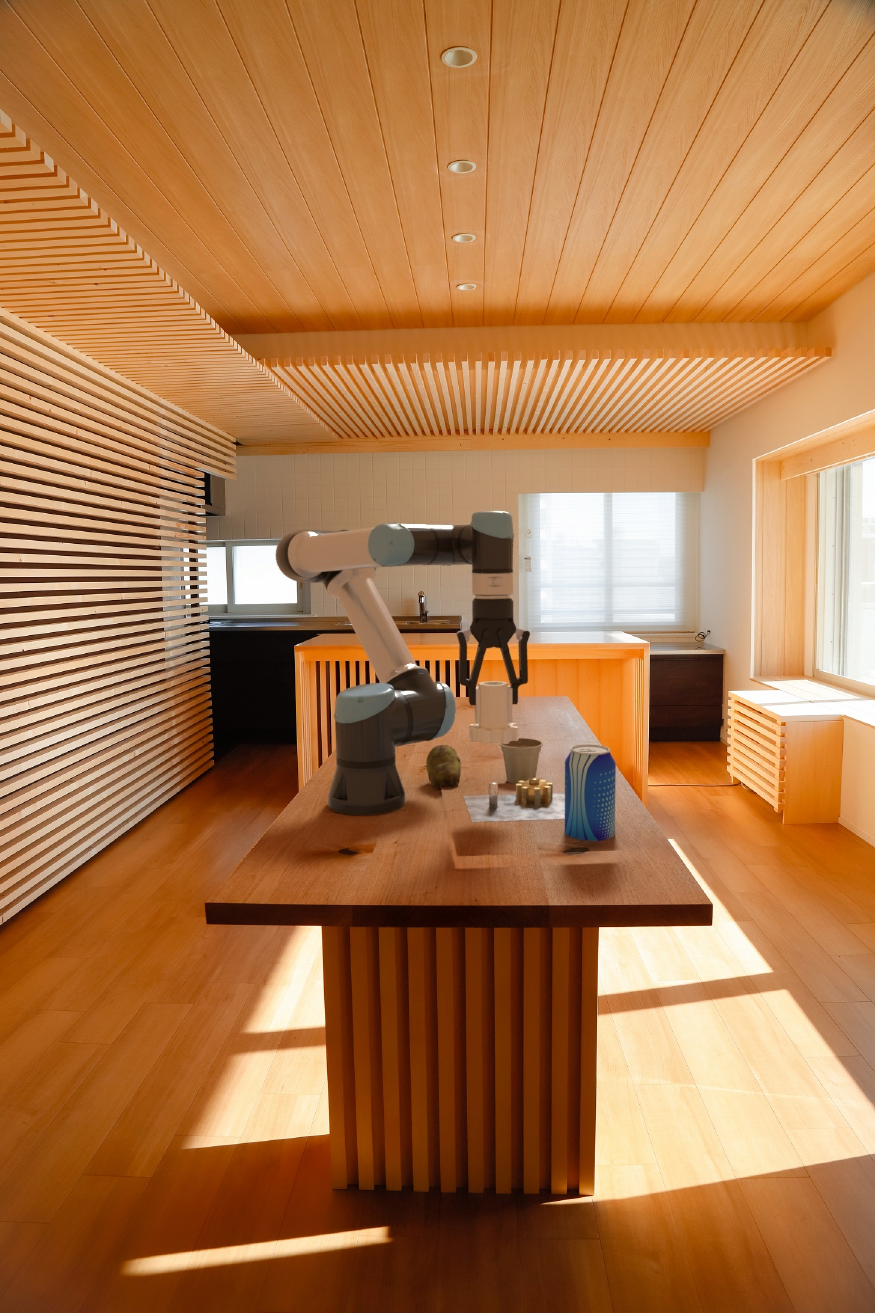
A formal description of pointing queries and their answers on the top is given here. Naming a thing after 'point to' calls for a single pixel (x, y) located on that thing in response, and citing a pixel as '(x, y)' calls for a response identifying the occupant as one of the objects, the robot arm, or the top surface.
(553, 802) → the plate
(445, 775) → the potato
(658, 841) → the top surface
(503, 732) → the planet gear
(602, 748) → the beer can
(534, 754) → the flower pot
